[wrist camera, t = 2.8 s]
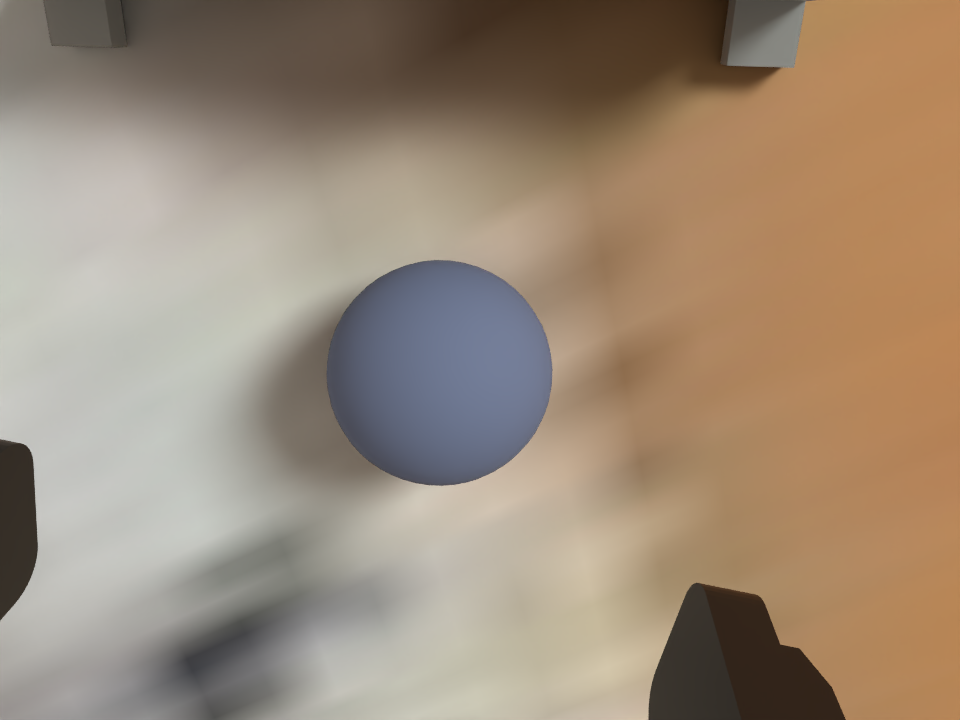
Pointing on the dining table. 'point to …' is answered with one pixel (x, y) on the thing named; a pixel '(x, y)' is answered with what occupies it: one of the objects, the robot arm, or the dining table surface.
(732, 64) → the fence
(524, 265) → the dining table surface
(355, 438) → the ball
